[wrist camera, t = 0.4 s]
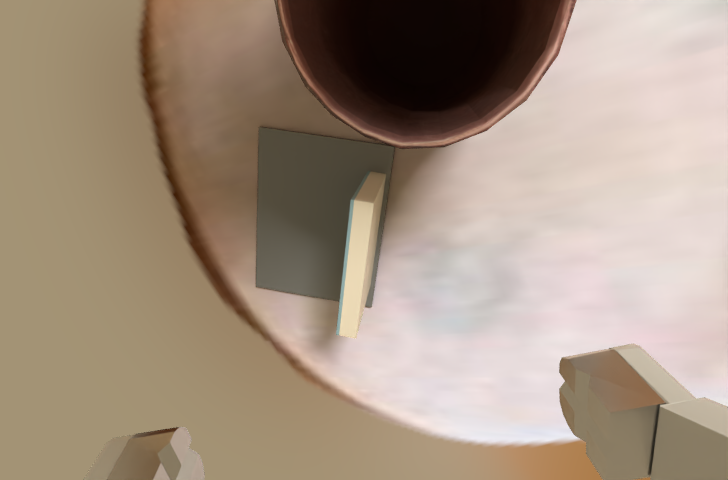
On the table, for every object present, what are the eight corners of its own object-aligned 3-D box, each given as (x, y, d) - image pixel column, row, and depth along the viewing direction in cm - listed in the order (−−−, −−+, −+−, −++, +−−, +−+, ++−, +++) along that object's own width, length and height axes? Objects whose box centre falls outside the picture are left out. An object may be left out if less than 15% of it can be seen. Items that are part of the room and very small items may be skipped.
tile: (368, 171, 46) (350, 199, 36) (386, 173, 46) (373, 203, 36) (354, 282, 52) (335, 334, 42) (370, 285, 52) (355, 338, 42)
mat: (260, 126, 47) (258, 127, 46) (394, 146, 45) (394, 146, 45) (257, 285, 54) (255, 286, 54) (371, 305, 53) (371, 307, 53)
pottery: (558, -39, 37) (660, -123, 21) (463, 145, 44) (482, 191, 28) (375, -125, 37) (331, -282, 20) (308, 74, 44) (235, 78, 27)
